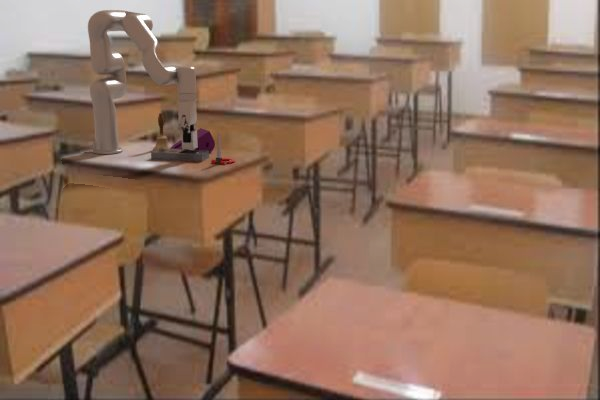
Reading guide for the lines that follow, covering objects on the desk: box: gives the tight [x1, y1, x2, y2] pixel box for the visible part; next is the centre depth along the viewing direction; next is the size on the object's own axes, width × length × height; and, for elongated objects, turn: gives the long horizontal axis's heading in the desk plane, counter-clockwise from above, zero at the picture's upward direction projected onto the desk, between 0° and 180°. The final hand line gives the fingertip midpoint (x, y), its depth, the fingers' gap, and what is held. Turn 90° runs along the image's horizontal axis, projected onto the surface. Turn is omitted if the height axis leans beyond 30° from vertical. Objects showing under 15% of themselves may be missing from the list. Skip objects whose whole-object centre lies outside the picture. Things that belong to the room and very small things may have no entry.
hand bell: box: [152, 112, 172, 151], centre depth 330 cm, size 8×8×16 cm
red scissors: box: [210, 131, 236, 166], centre depth 304 cm, size 8×13×9 cm
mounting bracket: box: [170, 127, 216, 153], centre depth 325 cm, size 9×8×18 cm
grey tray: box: [150, 148, 210, 163], centre depth 311 cm, size 22×9×3 cm, turn 78°
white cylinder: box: [180, 129, 198, 150], centre depth 309 cm, size 5×5×7 cm
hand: (189, 140), depth 309 cm, fingers closed on white cylinder, 5 cm apart
